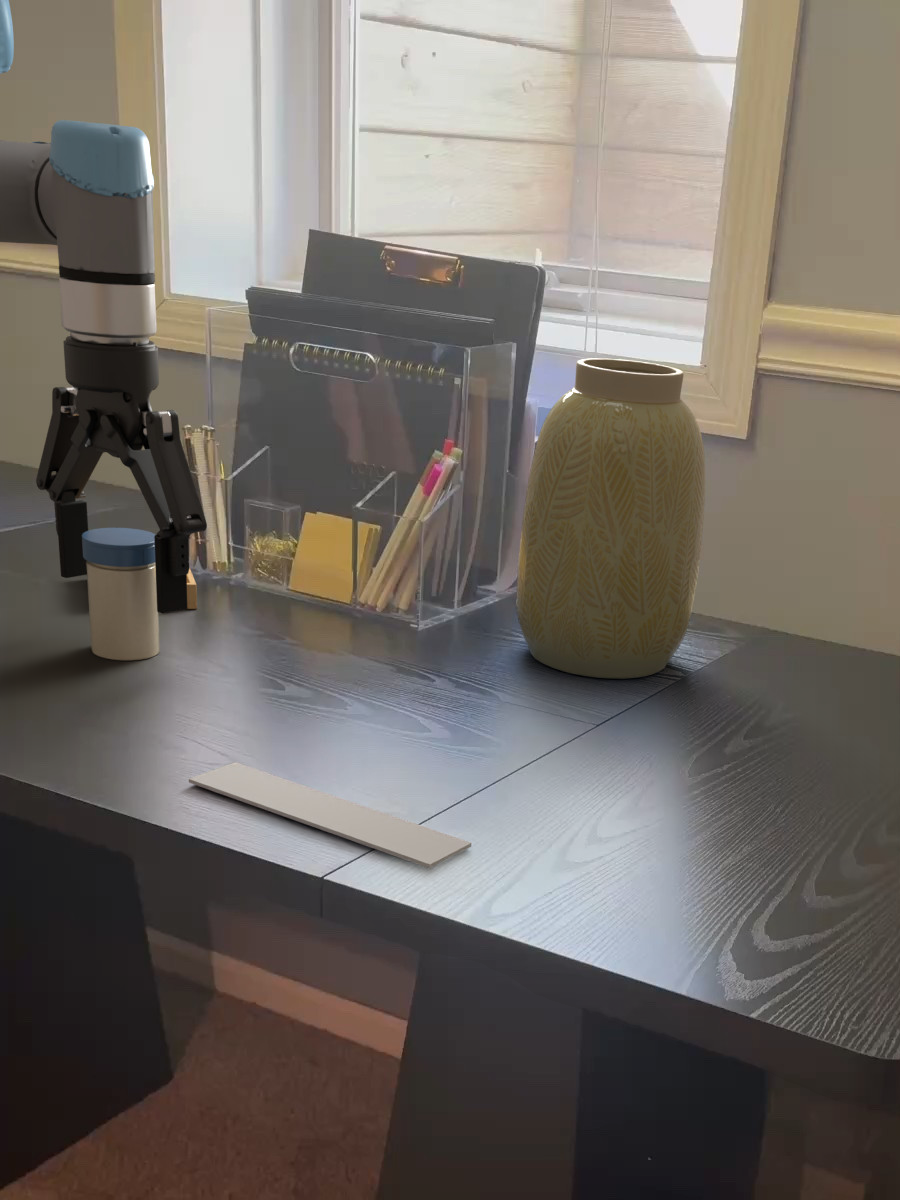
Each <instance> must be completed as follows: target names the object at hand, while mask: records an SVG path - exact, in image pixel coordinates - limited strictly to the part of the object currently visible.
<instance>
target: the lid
mask: <svg viewBox="0 0 900 1200" xmlns="http://www.w3.org/2000/svg"><path fill="white" fill-rule="evenodd" d="M155 535H156V533H154V532H151V531H148V530H144V529H138V528H131V527H101V528H93V529H90V530H89V529H88V531H86V532H84V533H83V534H82V547H83V557H84V559H85V560H87V561H89V562H92V563H95V564H100V565H106V566H116V567H134V566H144V565H149V564H152V563H155V539H154V536H155Z"/></svg>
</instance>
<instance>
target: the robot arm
mask: <svg viewBox="0 0 900 1200" xmlns="http://www.w3.org/2000/svg"><path fill="white" fill-rule="evenodd" d="M11 11H12V10H11V5H10V0H0V75H1V74H5V73H8V71H10V70H11V66H12V65H13V63H14V62H13V61H14V56H15V55H14V52H15V39H14V25H13V18H12V12H11ZM150 149H151V147H150V141H149V138H148V136H147V135H146V133H145V132H144V131H143V130H142V129H140V128H139V127H136V126H130V125H129V126H128V125H118V124H112V123H111V124H109V123H102V122H101V123H100V122H90V121H89V122H88V121H79V120H67V119H60V120H57V121H56V122H55V123H54V124H53V125H52V127H51V130H50V142H45V141H32V142H29V141H28V142H27V141H18V140H17V141H15V140H6V139H5V140H4V139H0V243H9V244H10V243H12V244H30V245H49V246H57V255H58V257H57V258H58V274H59V276H58V279H59V281H58V282H59V283H58V284H59V300H60V303H59V304H60V319H61V327H62V328H63V329H64V330H65V331H67V332H69V335H67V336H66V337H65V339H64V340H63V341H62V342H63V357H64V373H65V380H66V383H68V384H69V385H70V386H55V387H53V388H52V391H51V401H52V402H51V416H50V419H49V420H50V421H49V424H48V428H47V433H46V437H45V441H44V446H43V449H42V453H41V458H40V462H39V466H38V470H37V475H36V477H35V483H36V486H37V488H38V490H40V491H44V490H45V491H46V492H47V493H48V496H49V499H50V500H51V501H52V502H53V504H54V518H55V531H56V535H57V538H58V553H59V569H60V577H62V578H64V579H70V578H74V577H81V576H87V567H86V562H87V560H85V559H84V557H83V547H82V534H83V533H84V532H86V531H89V520H88V518H89V517H88V502H87V501H84V500H76V499H84V498H86V497H87V495H85V492H84V489H85V487H86V485H87V484H88V482H89V479H90V478H91V476H92V474H93V473H94V471H95V468H96V467H97V465H98V463H99V461H100V460H101V457H102V455H103V454H104V453H107V454H109V455H110V456H111V457H113V458H117V459H119V460H120V462H121V463H122V464H123V466H125V467H127V468H129V469H130V472H131V473H132V475H133V477H134V479H135V483H136V484H137V486H138V488H139V490H140V492H141V494H142V496H143V498H144V500H145V502H146V504H147V506H148V508H149V510H150V512H151V514H152V517H153V519H154V521H155V523H156V525H157V527H158V529H159V530H158V531H157V532H156V534H155V536H154V539H155V566H156V593H157V612H158V614H159V613H160V614H163V615H164V614H169V613H172V612H178V611H184V610H189V609H188V608H187V574H188V572H189V568H190V536H191V535H193V534H196V533H201V532H206V530H207V527H208V523H207V519H206V516H205V514H204V509H203V507H202V504H201V501H200V497H199V495H198V491H197V487H196V485H195V482H194V477H193V475H192V472H191V468H190V465H189V462H188V459H187V455H186V453H185V450H184V446H183V443H182V440H181V432H180V423H179V422H180V421H179V415H178V412H176V410H175V409H165V410H153V409H152V405H151V400H150V395H151V393H152V392H153V391H155V390H157V389H158V386H159V385H160V376H159V375H160V373H159V347H158V346H157V345H156V343H155V342H154V341H152V340H150V337H153V336H155V335H156V334H157V332H158V329H157V327H158V326H157V307H156V305H157V304H156V284H155V283H156V274H155V273H156V271H155V270H156V269H155V267H156V265H155V263H156V262H155V229H154V188H155V177H154V174H153V170H152V169H153V168H152V159H151V150H150ZM143 448H144V449H143ZM54 472H55V473H54ZM52 473H54V474H52ZM189 516H190V517H189ZM171 520H172V521H171Z"/></svg>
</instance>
